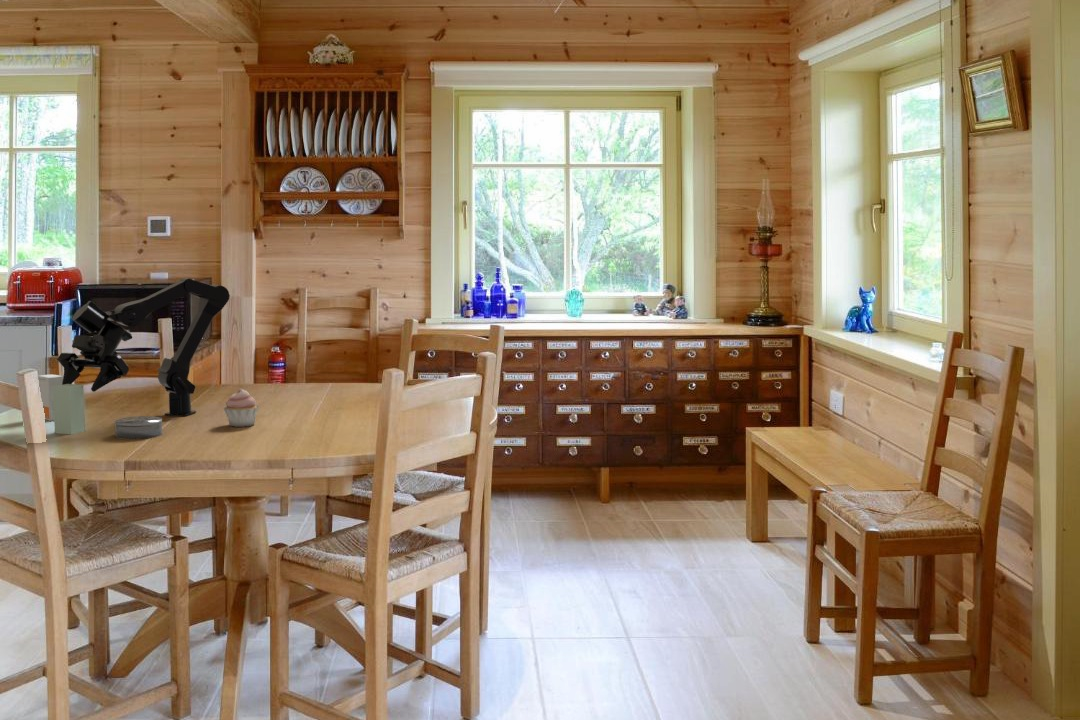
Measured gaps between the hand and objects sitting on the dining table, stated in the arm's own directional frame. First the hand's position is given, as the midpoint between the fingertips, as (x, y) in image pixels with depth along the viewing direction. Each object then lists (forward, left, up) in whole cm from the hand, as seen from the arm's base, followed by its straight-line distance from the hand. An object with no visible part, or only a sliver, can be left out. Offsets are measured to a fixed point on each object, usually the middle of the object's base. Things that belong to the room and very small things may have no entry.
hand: (77, 389), depth 260 cm
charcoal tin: (+3, +19, -11) cm, 22 cm away
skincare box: (-13, -16, -11) cm, 23 cm away
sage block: (+3, 0, -10) cm, 11 cm away
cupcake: (-15, +38, -11) cm, 42 cm away
